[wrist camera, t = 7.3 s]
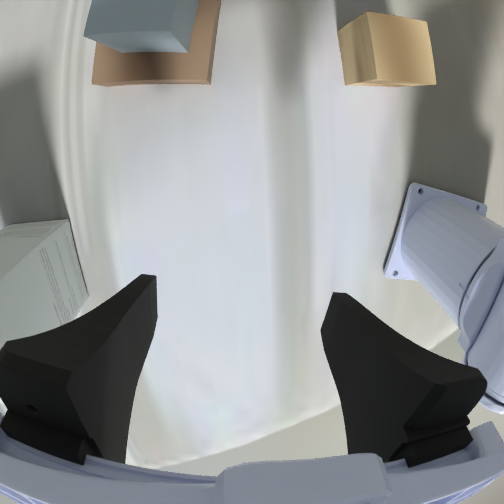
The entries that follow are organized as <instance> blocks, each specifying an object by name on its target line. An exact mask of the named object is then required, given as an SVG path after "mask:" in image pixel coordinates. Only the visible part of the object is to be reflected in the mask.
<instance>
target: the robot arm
mask: <svg viewBox="0 0 504 504" xmlns="http://www.w3.org/2000/svg"><path fill="white" fill-rule="evenodd" d="M420 188H421V192H420V193H418V190H419V189H420ZM476 206H477V208H476ZM486 213H487V205H485V204H483V203H480V202H477V201H474V200H471V199H468V198H465V197H462V196H459V195H456V194H453V193H449V192H446V191H443V190H439V189H436V188H433V187H429V186H426V185H422V184H418V183H411V184H410V186H409V188H408V192H407V196H406V200H405V204H404V207H403V211H402V215H401V218H400V222H399V225H398V228H397V232H396V235H395V238H394V241H393V245H392V248H391V251H390V254H389V257H388V260H387V263H386V266H385V269H384V275H385V276H386V277H387V278H393V279H406V280H418V281H419V282H420V284H421V285H422V286H423V287H424V288H425V289H426V290H427V291H428V292H429V294H430V295H431V296H432V297H433V298H434V299H435V300H436V301H437V303H438V304H439V305H440V306H441V307H442V308H443V310H444V311H445V312H446V313H447V314H448V315H449V317H450V318H451V319H452V320H453V321H454V323H455V324H456V325H457V326H458V327H459V329H460V330H461V333H460V336H459V338H458V343H459V344H460V345H461V347H462V348H463V349H464V351H465V352H466V353H465V355H464V357H463V359H462V362H461V364H460V363H457V362H454V361H452V360H449V359H446V358H444V357H441V356H439V355H437V354H435V353H433V352H430V351H428V350H426V349H424V348H422V347H421V346H419V345H417V344H415V343H413V342H412V341H410V340H409V339H407V338H405V337H404V336H402V335H401V334H399V333H398V332H396V331H395V330H393V329H392V328H391V327H389V326H388V325H387V324H385V323H384V322H383V321H381V320H380V319H379V318H378V317H376V316H375V315H374V314H373V313H371V312H370V311H369V310H368V309H366V308H365V307H364V306H363V305H362V304H360V303H359V302H358V301H357V300H355V299H354V298H353V297H351V296H350V295H348V294H347V293H337V292H333V294H332V297H331V300H330V303H329V306H328V310H327V313H326V316H325V319H324V322H323V325H322V327H321V336H322V342H323V347H324V351H325V354H326V357H327V360H328V363H329V366H330V369H331V372H332V375H333V378H334V381H335V384H336V387H337V390H338V393H339V397H340V401H341V406H342V411H343V416H344V423H345V429H346V437H347V447H348V455H343V456H334V457H325V458H315V459H302V460H283V461H260V462H249V463H242V464H239V465H235V466H232V467H228V468H227V469H225V470H224V471H223V472H222V473H221V474H220V475H219V476H217V477H215V476H202V475H191V474H181V473H173V472H166V471H160V470H153V469H147V468H142V467H137V466H132V465H127V464H125V459H126V448H127V439H128V431H129V424H130V418H131V412H132V406H133V401H134V396H135V391H136V386H137V383H138V379H139V376H140V373H141V371H142V368H143V365H144V362H145V359H146V356H147V353H148V351H149V348H150V345H151V342H152V339H153V336H154V331H155V327H156V322H157V317H158V315H157V283H156V276H154V275H146V274H141V275H140V276H138V277H137V278H136V279H135V280H133V281H132V282H131V283H130V284H128V285H127V286H126V287H124V288H123V289H122V290H120V291H119V292H118V293H117V294H115V295H114V296H113V297H111V298H110V299H108V300H107V301H105V302H104V303H102V304H101V305H99V306H98V307H96V308H95V309H93V310H92V311H90V312H88V313H86V314H85V315H83V316H81V317H79V318H77V319H75V320H73V321H71V322H68V323H66V324H64V325H61V326H59V327H57V328H54V329H52V330H49V331H46V332H43V333H39V334H36V335H33V336H29V337H24V338H20V339H15V340H10V341H6V343H5V344H4V345H3V347H2V348H1V350H0V398H1V400H2V401H3V403H4V404H5V406H6V407H7V409H8V410H7V412H6V414H5V416H4V415H3V414H1V413H0V493H1V494H2V495H4V496H6V497H8V498H9V499H11V500H13V501H15V502H17V503H19V504H457V503H459V502H461V501H463V500H464V499H467V498H468V497H470V496H472V495H474V494H476V493H477V492H479V491H480V490H481V489H483V488H484V487H485V486H487V485H488V484H489V483H491V482H492V481H493V480H495V479H496V478H497V477H499V476H500V475H501V474H502V473H503V472H504V442H503V440H502V438H501V436H500V435H499V433H498V431H497V430H496V428H495V426H494V424H493V422H492V421H489V422H487V423H484V424H482V425H479V426H477V427H475V428H473V429H472V430H470V431H469V430H468V428H467V425H468V424H469V423H470V420H469V418H468V417H467V415H468V414H469V413H470V412H471V410H472V409H473V408H474V407H475V406H476V404H477V403H478V402H479V403H480V404H481V405H482V406H484V407H485V408H487V409H489V410H491V411H493V412H496V413H500V414H504V228H503V227H502V226H500V225H498V224H497V223H495V222H493V221H492V220H490V219H488V218H487V217H485V216H486ZM394 271H396V272H395V273H394V274H393V272H394Z"/></svg>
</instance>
